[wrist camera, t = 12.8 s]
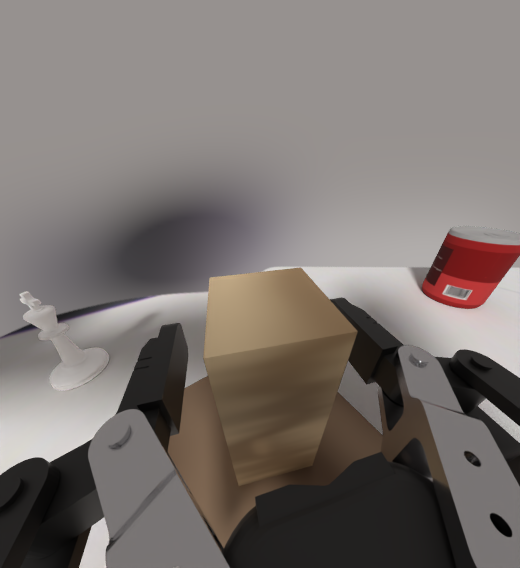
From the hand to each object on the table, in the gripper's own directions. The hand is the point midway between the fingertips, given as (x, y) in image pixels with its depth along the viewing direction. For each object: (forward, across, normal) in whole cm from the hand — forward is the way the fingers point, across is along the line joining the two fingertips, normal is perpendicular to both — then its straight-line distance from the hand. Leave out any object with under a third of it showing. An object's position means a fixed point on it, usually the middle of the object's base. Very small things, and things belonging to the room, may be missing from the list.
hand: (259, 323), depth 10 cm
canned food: (+11, -36, +12) cm, 39 cm away
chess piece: (+10, +18, +12) cm, 24 cm away
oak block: (-2, 0, +7) cm, 7 cm away
